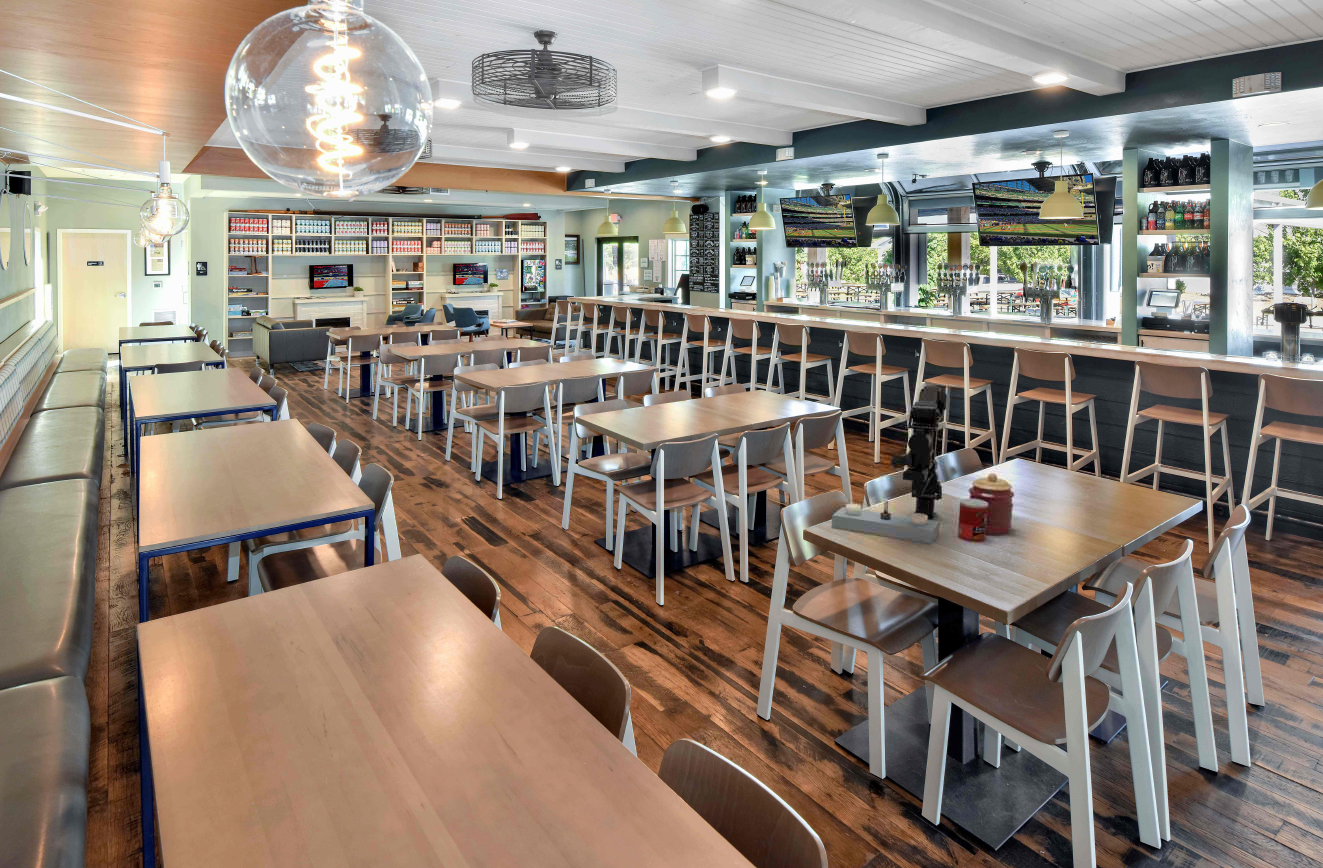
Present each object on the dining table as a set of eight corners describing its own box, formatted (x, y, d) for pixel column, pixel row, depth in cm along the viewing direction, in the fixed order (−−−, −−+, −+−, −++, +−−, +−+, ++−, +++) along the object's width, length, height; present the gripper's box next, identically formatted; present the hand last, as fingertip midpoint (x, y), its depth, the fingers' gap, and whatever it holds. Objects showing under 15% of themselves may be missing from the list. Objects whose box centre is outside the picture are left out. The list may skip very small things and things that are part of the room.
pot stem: (881, 516, 242) (882, 499, 241) (891, 517, 240) (892, 500, 239) (879, 518, 239) (880, 501, 238) (888, 520, 238) (890, 502, 236)
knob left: (847, 518, 248) (848, 502, 247) (862, 520, 246) (863, 504, 245) (843, 522, 244) (844, 506, 243) (857, 524, 242) (858, 508, 241)
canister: (1015, 537, 235) (1020, 480, 231) (969, 534, 237) (974, 477, 234) (1005, 523, 247) (1010, 469, 244) (962, 521, 250) (966, 467, 246)
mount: (842, 518, 252) (842, 506, 251) (938, 534, 237) (939, 521, 236) (831, 527, 244) (832, 515, 243) (931, 543, 229) (932, 530, 228)
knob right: (912, 528, 238) (913, 512, 237) (927, 531, 236) (929, 514, 235) (908, 533, 234) (909, 516, 233) (924, 535, 232) (925, 518, 231)
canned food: (976, 543, 229) (979, 507, 227) (952, 536, 235) (954, 501, 233) (991, 538, 233) (994, 502, 231) (966, 531, 240) (969, 496, 238)
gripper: (902, 437, 242) (899, 486, 246) (886, 449, 227) (883, 501, 230) (939, 441, 237) (936, 491, 240) (925, 453, 221) (922, 507, 224)
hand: (918, 497), depth 234 cm, fingers closed
